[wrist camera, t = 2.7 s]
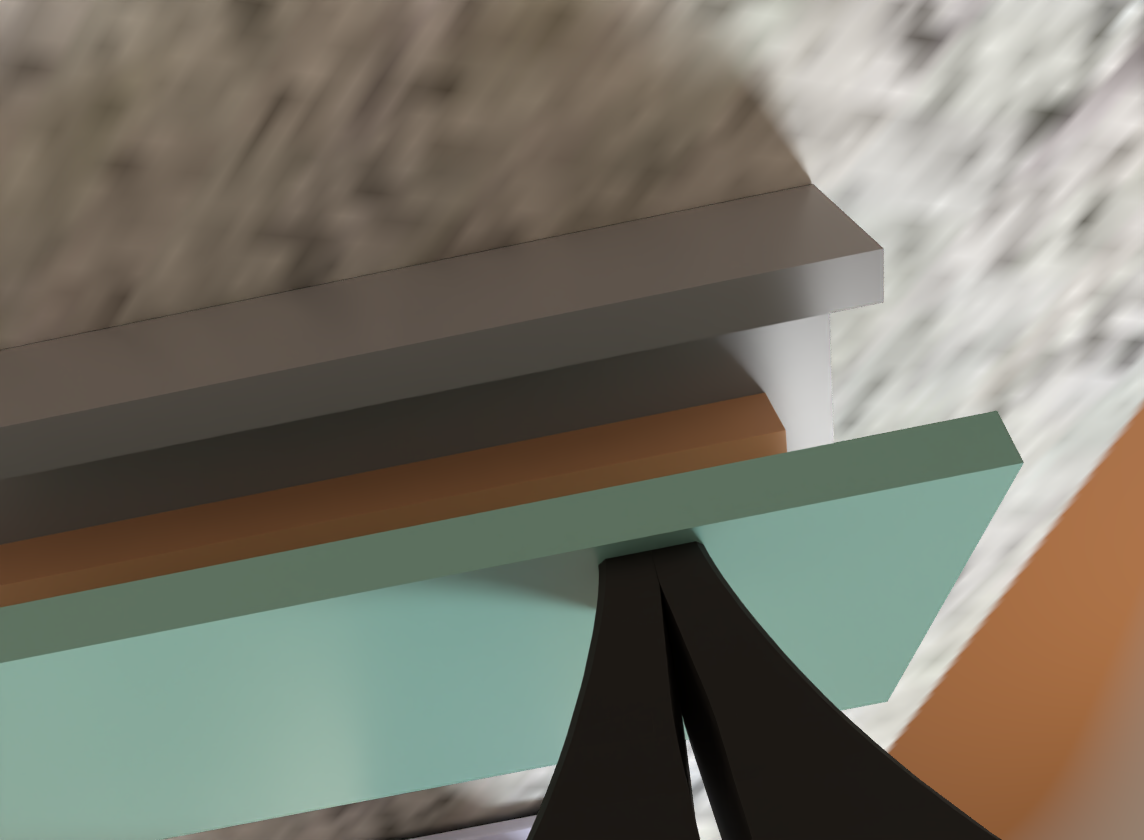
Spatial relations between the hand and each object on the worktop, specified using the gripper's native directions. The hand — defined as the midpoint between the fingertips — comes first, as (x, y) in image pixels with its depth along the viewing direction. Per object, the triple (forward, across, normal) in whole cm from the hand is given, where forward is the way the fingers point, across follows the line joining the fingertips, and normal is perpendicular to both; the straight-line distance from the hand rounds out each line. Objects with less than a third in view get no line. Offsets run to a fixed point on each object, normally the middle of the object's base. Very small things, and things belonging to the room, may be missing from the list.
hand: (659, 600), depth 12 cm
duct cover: (+3, +6, +3) cm, 7 cm away
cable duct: (+9, +6, +3) cm, 11 cm away
